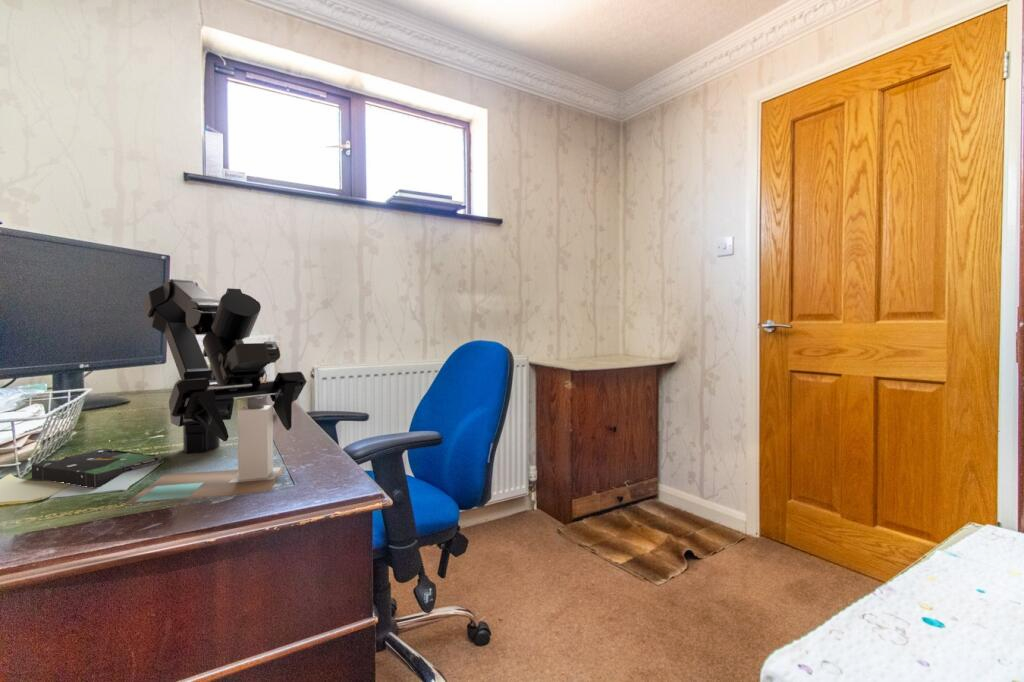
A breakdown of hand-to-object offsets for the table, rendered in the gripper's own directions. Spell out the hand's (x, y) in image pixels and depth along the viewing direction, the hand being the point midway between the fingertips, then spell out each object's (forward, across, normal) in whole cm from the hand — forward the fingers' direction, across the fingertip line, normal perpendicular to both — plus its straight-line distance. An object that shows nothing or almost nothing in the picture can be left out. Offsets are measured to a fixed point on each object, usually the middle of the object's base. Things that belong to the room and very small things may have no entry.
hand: (259, 433), depth 70 cm
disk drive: (-12, -14, +24) cm, 30 cm away
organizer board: (+4, -6, +7) cm, 10 cm away
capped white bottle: (+4, 0, +6) cm, 7 cm away
